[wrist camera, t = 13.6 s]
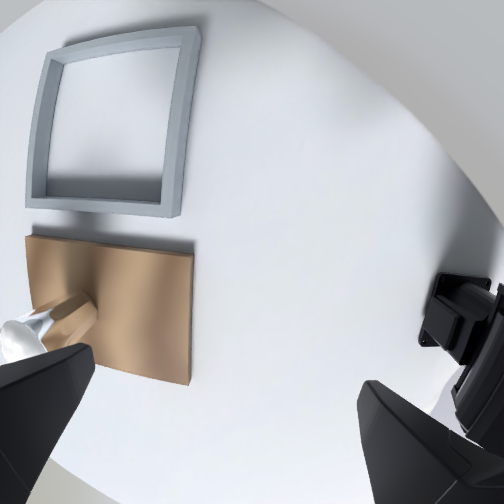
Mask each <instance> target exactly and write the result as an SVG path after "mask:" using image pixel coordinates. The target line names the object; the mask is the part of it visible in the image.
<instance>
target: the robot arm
mask: <svg viewBox="0 0 504 504" xmlns="http://www.w3.org/2000/svg"><path fill="white" fill-rule="evenodd" d="M442 277H443V280H442V281H441V278H442ZM486 282H487V284H486ZM490 287H491V279H490V278H488V277H482V276H473V275H464V274H455V273H446V272H440V273H439V274H438V275H437V277H436V281H435V285H434V289H433V293H432V297H431V299H430V302H429V306H428V309H427V312H426V316H425V319H424V322H423V327H422V331H421V334H420V337H419V340H418V343H419V344H420V345H421V346H422V347H438V346H441V347H442V348H443V349H444V350H445V351H447V352H448V353H449V354H450V355H451V356H452V357H453V359H454V360H455V361H456V362H457V363H458V364H459V365H463V366H464V367H465V369H464V371H463V373H462V375H461V376H460V378H459V380H458V382H457V383H456V385H454V386H453V388H452V390H451V394H452V397H453V401H454V404H455V408H456V412H455V415H456V418H457V420H458V421H459V423H460V426H461V428H462V429H463V431H464V433H466V435H465V436H466V438H468V439H470V440H472V441H474V442H476V443H477V444H479V445H480V446H481V447H483V448H484V449H483V448H481V447H479V446H477V445H475V444H473V443H472V442H470V441H468V440H466V439H465V438H463V437H461V436H460V435H458V434H457V433H455V432H453V431H452V430H449V428H447V427H446V426H444V425H443V424H441V423H440V422H438V421H437V420H435V419H433V418H432V417H431V416H429V415H428V414H426V413H425V412H423V411H422V410H420V409H419V408H417V407H416V406H414V405H413V404H411V403H410V402H408V401H407V400H405V399H404V398H402V397H401V396H399V395H398V394H396V393H395V392H393V391H392V390H391V389H389V388H388V387H386V386H385V385H383V384H382V383H380V382H379V381H377V380H366V381H365V382H364V383H363V386H362V389H361V391H360V394H359V397H358V400H357V411H358V419H359V427H360V436H361V443H362V448H363V452H364V456H365V461H366V465H367V469H368V474H369V478H370V483H371V487H372V492H373V497H374V501H375V504H504V284H502V283H499V286H498V289H497V291H498V293H497V296H495V295H493V294H492V293H490V292H489V290H490ZM424 339H426V340H425V341H424V342H423V340H424ZM94 371H95V361H94V355H93V350H92V347H91V346H90V345H89V344H85V343H82V342H80V343H76V344H73V345H70V346H66V347H63V348H60V349H56V350H53V351H50V352H46V353H43V354H40V355H36V356H33V357H29V358H26V359H22V360H19V361H15V362H12V363H8V364H5V365H1V366H0V504H25V503H26V501H27V499H28V497H29V495H30V493H31V492H30V491H32V489H33V487H34V485H35V483H36V481H37V479H38V477H39V475H40V473H41V471H42V469H43V467H44V465H45V464H46V462H47V460H48V458H49V456H50V454H51V453H52V451H53V449H54V447H55V445H56V443H57V442H58V440H59V438H60V436H61V435H62V433H63V431H64V429H65V428H66V426H67V424H68V422H69V421H70V419H71V417H72V416H73V414H74V412H75V410H76V409H77V407H78V405H79V403H80V401H81V399H82V397H83V395H84V393H85V390H86V388H87V386H88V384H89V382H90V380H91V377H92V375H93V373H94Z"/></svg>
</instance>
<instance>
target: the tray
mask: <svg viewBox="0 0 504 504" xmlns="http://www.w3.org/2000/svg"><path fill="white" fill-rule="evenodd" d="M201 40H202V36H201V34H200V32H199V30H198V28H197V26H181V27H169V28H159V29H150V30H143V31H136V32H129V33H123V34H118V35H113V36H108V37H103V38H98V39H94V40H89V41H85V42H81V43H78V44H74V45H70V46H67V47H63V48H60V49H57V50H53V51H50V52H47V54H46V57H45V61H44V65H43V69H42V73H41V77H40V81H39V85H38V90H37V95H36V100H35V105H34V111H33V117H32V123H31V130H30V138H29V147H28V157H27V171H26V193H25V208H37V209H54V210H70V211H85V212H99V213H112V214H125V215H138V216H150V217H161V218H174V217H176V216H179V215H180V211H181V197H182V184H183V173H184V162H185V152H186V143H187V134H188V126H189V118H190V110H191V103H192V95H193V89H194V82H195V75H196V69H197V63H198V57H199V51H200V46H201ZM170 47H180V53H179V58H178V63H177V69H176V75H175V81H174V87H173V93H172V100H171V107H170V114H169V121H168V129H167V138H166V147H165V156H164V167H163V178H162V191H161V202H150V201H135V200H118V199H99V198H77V197H47V196H46V182H47V166H48V154H49V144H50V136H51V128H52V121H53V115H54V109H55V103H56V98H57V92H58V88H59V83H60V78H61V74H62V70H63V66H64V64H68V63H72V62H77V61H81V60H86V59H90V58H95V57H100V56H106V55H112V54H118V53H124V52H131V51H139V50H148V49H158V48H170Z"/></svg>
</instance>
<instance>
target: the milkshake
mask: <svg viewBox="0 0 504 504" xmlns="http://www.w3.org/2000/svg"><path fill="white" fill-rule="evenodd" d="M96 321H97V308H96V306H95V303H94V301H93V299H92V298H91V297H90V296H88V295H87V294H86V293H85V292H84V291H72V292H70V293H67V294H65V295H63V296H61V297H59V298H57V299H55V300H53V301H51V302H49V303H46V304H44V305H42V306H40V307H38V308H36V309H34V310H32V311H30V312H28V313H25V314H23V315H21V316H19V317H16V318H14V319H12V320H10V321H7V322H5V323H4V325H3V326H2V329H0V342H1V350H2V353H3V355H4V357H5V359H6V361H7V363H12V362H15V361H19V360H22V359H26V358H29V357H33V356H36V355H40V354H43V353H46V352H50V351H53V350H56V349H60V348H63V347H66V346H70V345H73V344H76V343H77V342H78V341H79V340H80V338H81V337H82V336H83V335H84V334H85V333H86V332H87V331H88V330H89V328H90V327H91V326H92V325H93V324H94V323H95V322H96Z"/></svg>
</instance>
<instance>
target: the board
mask: <svg viewBox="0 0 504 504" xmlns="http://www.w3.org/2000/svg"><path fill="white" fill-rule="evenodd" d="M25 245H26V258H27V269H28V278H29V286H30V293H31V300H32V306H33V310H34V309H36V308H38V307H40V306H42V305H44V304H46V303H49V302H51V301H53V300H55V299H57V298H59V297H61V296H63V295H65V294H67V293H70V292H72V291H84V292H85V293H86V294H87V295H88V296H90V297H91V298H92V299H93V301H94V303H95V306H96V308H97V321H96V322H95V323H94V324H93V325H92V326H91V327H90V328H89V330H88V331H87V332H86V333H85V334H84V335H83V336H82V337H81V338H80V340H79V341H78V342H77V343H80V342H82V343H85V344H89V345H90V346H91V347H92V350H93V355H94V361H95V364H98V365H102V366H105V367H109V368H112V369H116V370H120V371H123V372H127V373H131V374H135V375H139V376H144V377H148V378H152V379H157V380H162V381H166V382H171V383H176V384H182V385H187V386H188V385H189V383H190V380H191V323H192V291H193V268H194V254H187V253H178V252H170V251H161V250H153V249H145V248H136V247H128V246H120V245H111V244H103V243H95V242H87V241H79V240H71V239H63V238H55V237H47V236H39V235H29V236H25Z"/></svg>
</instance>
